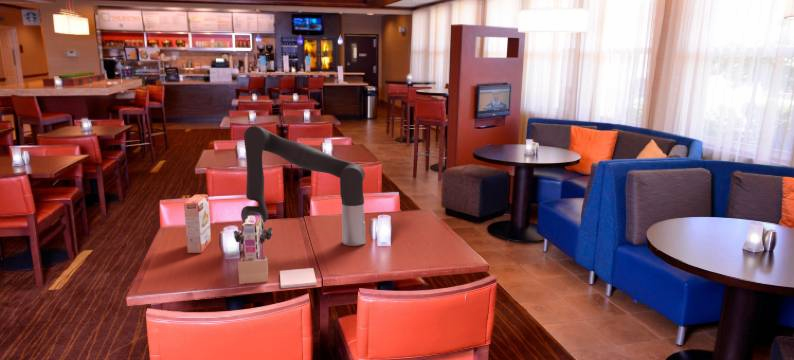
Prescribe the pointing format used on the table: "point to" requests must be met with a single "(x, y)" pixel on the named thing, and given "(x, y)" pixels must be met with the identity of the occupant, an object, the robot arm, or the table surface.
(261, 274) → the kraft carton
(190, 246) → the cracker box
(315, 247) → the table surface
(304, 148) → the robot arm
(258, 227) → the candy bar box
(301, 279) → the ceramic tile
